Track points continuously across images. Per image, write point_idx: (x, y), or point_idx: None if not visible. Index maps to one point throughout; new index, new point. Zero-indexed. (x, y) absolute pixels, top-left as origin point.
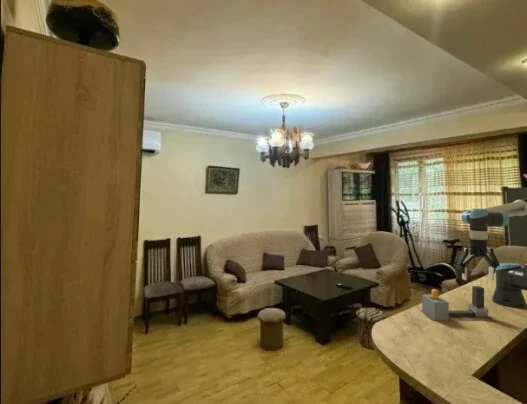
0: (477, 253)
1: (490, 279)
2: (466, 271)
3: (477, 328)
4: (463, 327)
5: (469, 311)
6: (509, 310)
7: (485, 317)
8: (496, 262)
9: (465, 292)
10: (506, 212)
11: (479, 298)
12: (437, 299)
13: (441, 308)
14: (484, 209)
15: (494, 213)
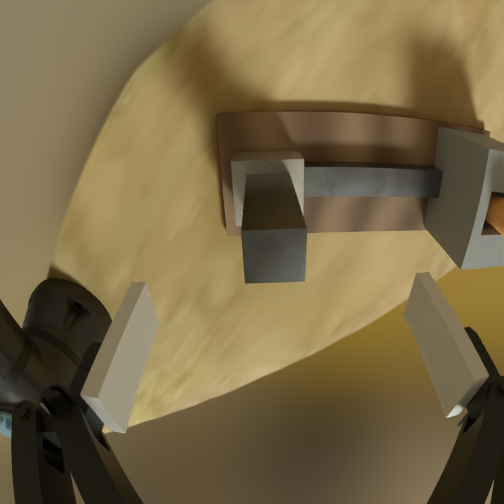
0: None
1: (152, 304)
2: (460, 339)
3: (352, 53)
4: (406, 70)
5: (313, 183)
6: (91, 254)
7: (246, 151)
8: (31, 450)
9: (172, 390)
10: None
11: (277, 194)
12: (500, 200)
13: (494, 145)
14: None
15: None
